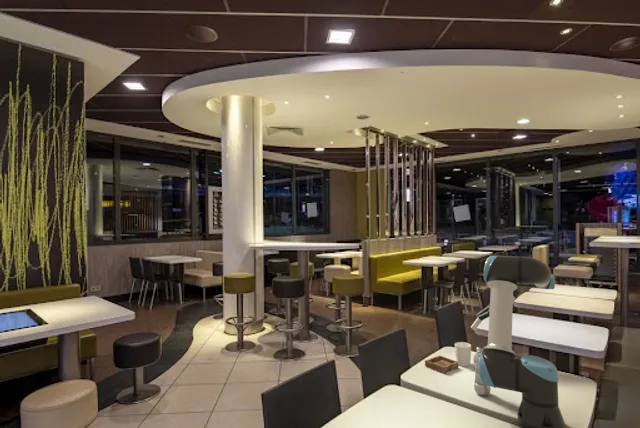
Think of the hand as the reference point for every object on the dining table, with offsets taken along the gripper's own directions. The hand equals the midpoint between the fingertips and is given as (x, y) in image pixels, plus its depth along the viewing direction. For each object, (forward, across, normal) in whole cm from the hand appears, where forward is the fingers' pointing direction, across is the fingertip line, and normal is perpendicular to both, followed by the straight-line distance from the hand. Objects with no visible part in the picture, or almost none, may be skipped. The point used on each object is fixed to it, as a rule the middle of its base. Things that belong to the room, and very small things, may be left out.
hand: (480, 332), depth 199 cm
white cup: (+18, 0, -3) cm, 19 cm away
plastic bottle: (+27, -30, +5) cm, 41 cm away
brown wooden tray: (+27, 0, +6) cm, 28 cm away
